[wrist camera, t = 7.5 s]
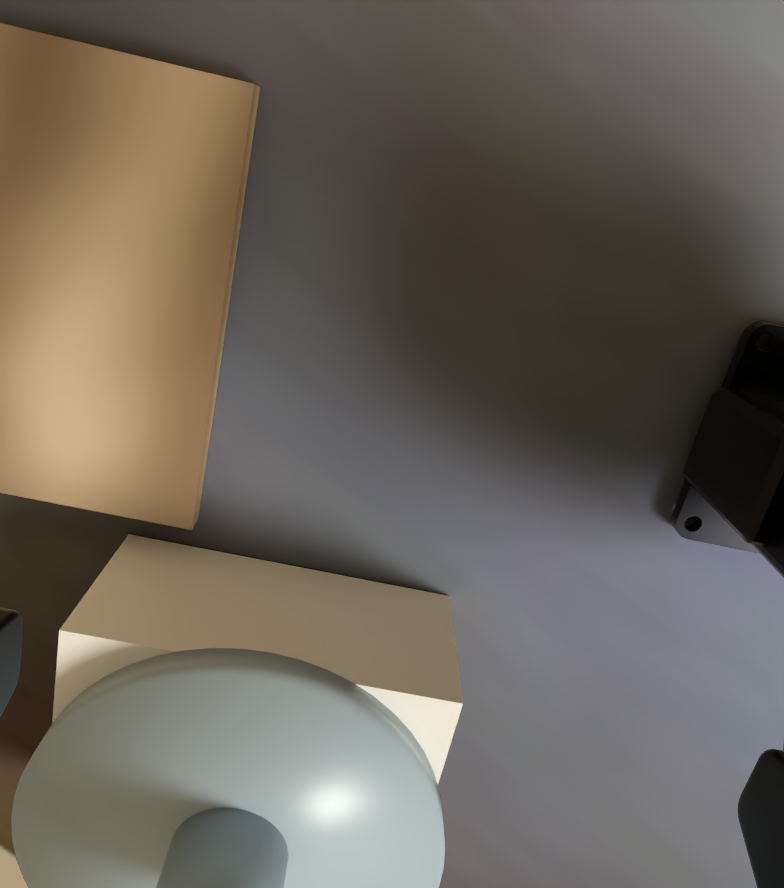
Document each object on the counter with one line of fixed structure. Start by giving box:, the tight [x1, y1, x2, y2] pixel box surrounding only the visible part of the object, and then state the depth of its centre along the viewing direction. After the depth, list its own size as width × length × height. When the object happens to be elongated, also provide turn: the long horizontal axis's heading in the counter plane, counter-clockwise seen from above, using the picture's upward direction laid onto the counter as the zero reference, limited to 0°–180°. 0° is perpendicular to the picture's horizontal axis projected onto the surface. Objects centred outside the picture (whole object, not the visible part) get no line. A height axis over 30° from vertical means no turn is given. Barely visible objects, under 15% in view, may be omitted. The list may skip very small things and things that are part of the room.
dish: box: [52, 534, 463, 784], centre depth 22 cm, size 10×10×5 cm
